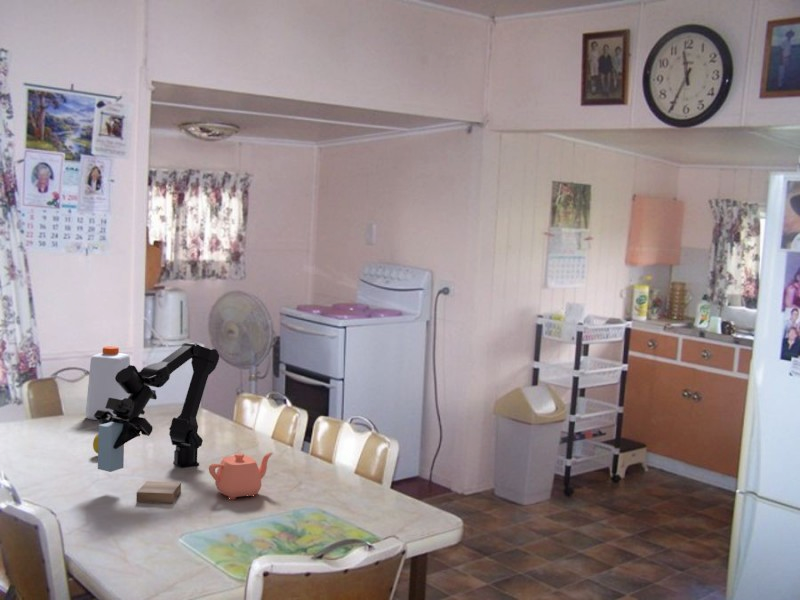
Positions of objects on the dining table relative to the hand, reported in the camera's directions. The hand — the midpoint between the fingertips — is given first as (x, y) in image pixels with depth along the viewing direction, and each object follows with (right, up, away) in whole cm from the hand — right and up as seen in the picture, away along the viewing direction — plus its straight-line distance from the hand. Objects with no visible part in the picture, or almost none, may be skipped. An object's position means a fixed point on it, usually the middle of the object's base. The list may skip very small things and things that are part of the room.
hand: (107, 446), depth 239 cm
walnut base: (+15, -14, -1) cm, 21 cm away
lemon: (-15, -10, +36) cm, 41 cm away
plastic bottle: (-31, -4, +89) cm, 94 cm away
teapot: (+37, -15, +6) cm, 41 cm away
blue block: (0, -7, +2) cm, 7 cm away
